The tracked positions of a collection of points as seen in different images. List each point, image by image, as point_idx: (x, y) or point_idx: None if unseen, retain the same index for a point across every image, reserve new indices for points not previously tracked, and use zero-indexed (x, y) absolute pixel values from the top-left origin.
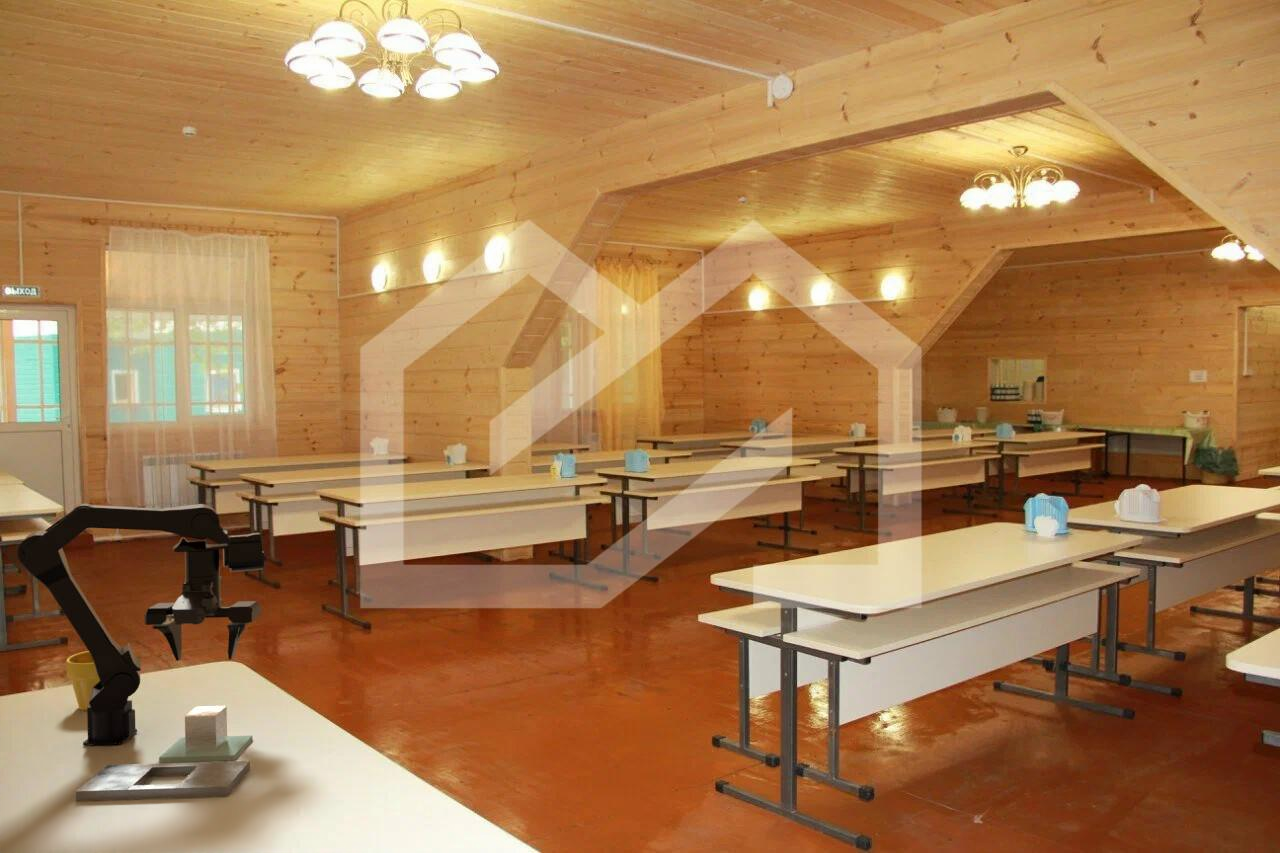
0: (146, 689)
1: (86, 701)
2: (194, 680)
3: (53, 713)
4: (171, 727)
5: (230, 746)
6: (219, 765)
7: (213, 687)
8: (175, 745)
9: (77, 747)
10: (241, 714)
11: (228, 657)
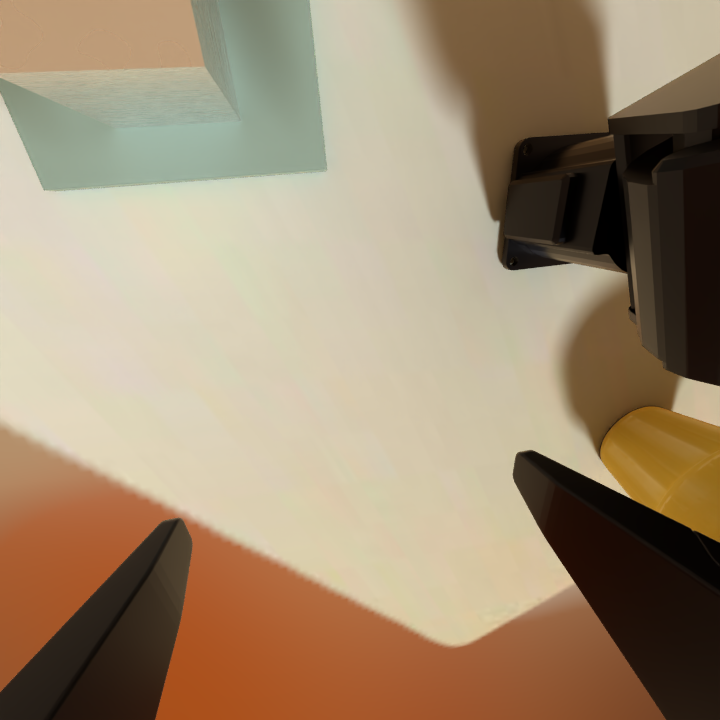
0: None
1: (675, 415)
2: (483, 574)
3: None
4: (419, 311)
5: None
6: None
7: (430, 554)
8: (303, 64)
9: None
10: (267, 421)
11: (170, 527)
